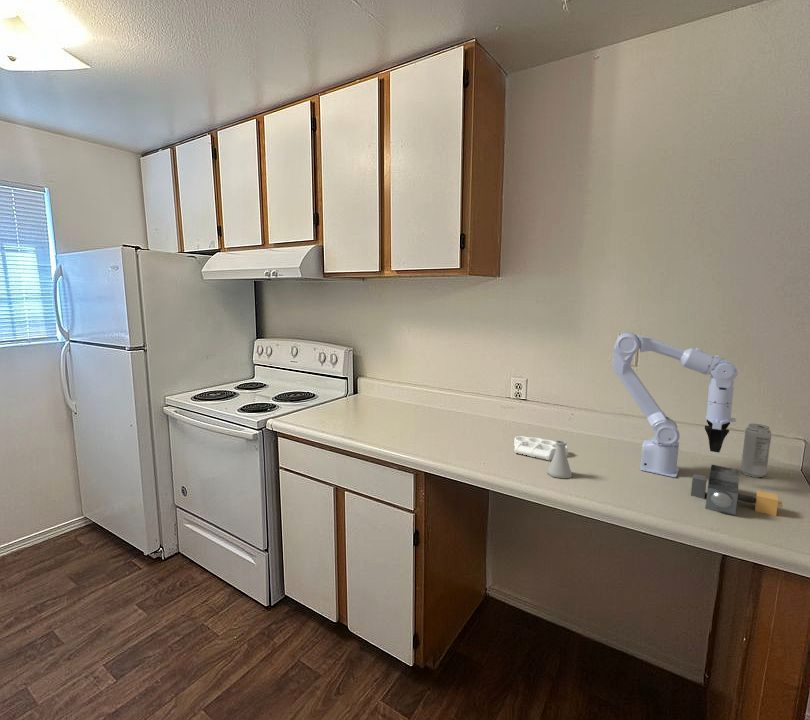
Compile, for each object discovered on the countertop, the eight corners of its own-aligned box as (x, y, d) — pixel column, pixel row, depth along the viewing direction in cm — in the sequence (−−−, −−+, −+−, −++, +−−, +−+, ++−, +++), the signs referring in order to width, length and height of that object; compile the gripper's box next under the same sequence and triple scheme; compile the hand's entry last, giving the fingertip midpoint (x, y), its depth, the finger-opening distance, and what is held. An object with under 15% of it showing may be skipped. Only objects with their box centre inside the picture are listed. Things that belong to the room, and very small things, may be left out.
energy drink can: (754, 470, 135) (760, 422, 133) (771, 478, 129) (777, 428, 127) (735, 470, 135) (741, 423, 133) (751, 478, 129) (757, 428, 127)
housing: (705, 509, 110) (708, 484, 109) (709, 486, 123) (711, 464, 122) (735, 517, 106) (738, 491, 105) (735, 492, 120) (738, 469, 119)
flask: (543, 469, 135) (545, 437, 133) (567, 469, 134) (569, 438, 133) (550, 479, 128) (552, 445, 126) (575, 479, 127) (578, 446, 126)
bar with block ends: (690, 496, 117) (692, 478, 117) (691, 490, 120) (693, 473, 120) (781, 517, 106) (784, 497, 106) (780, 511, 109) (782, 491, 109)
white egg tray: (504, 453, 149) (520, 442, 161) (558, 465, 139) (571, 452, 151) (505, 443, 149) (520, 433, 161) (559, 455, 139) (572, 442, 150)
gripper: (737, 408, 117) (732, 458, 119) (737, 399, 129) (733, 443, 130) (705, 405, 121) (701, 452, 123) (708, 395, 133) (704, 439, 135)
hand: (715, 447), depth 127 cm, fingers open, 7 cm apart
